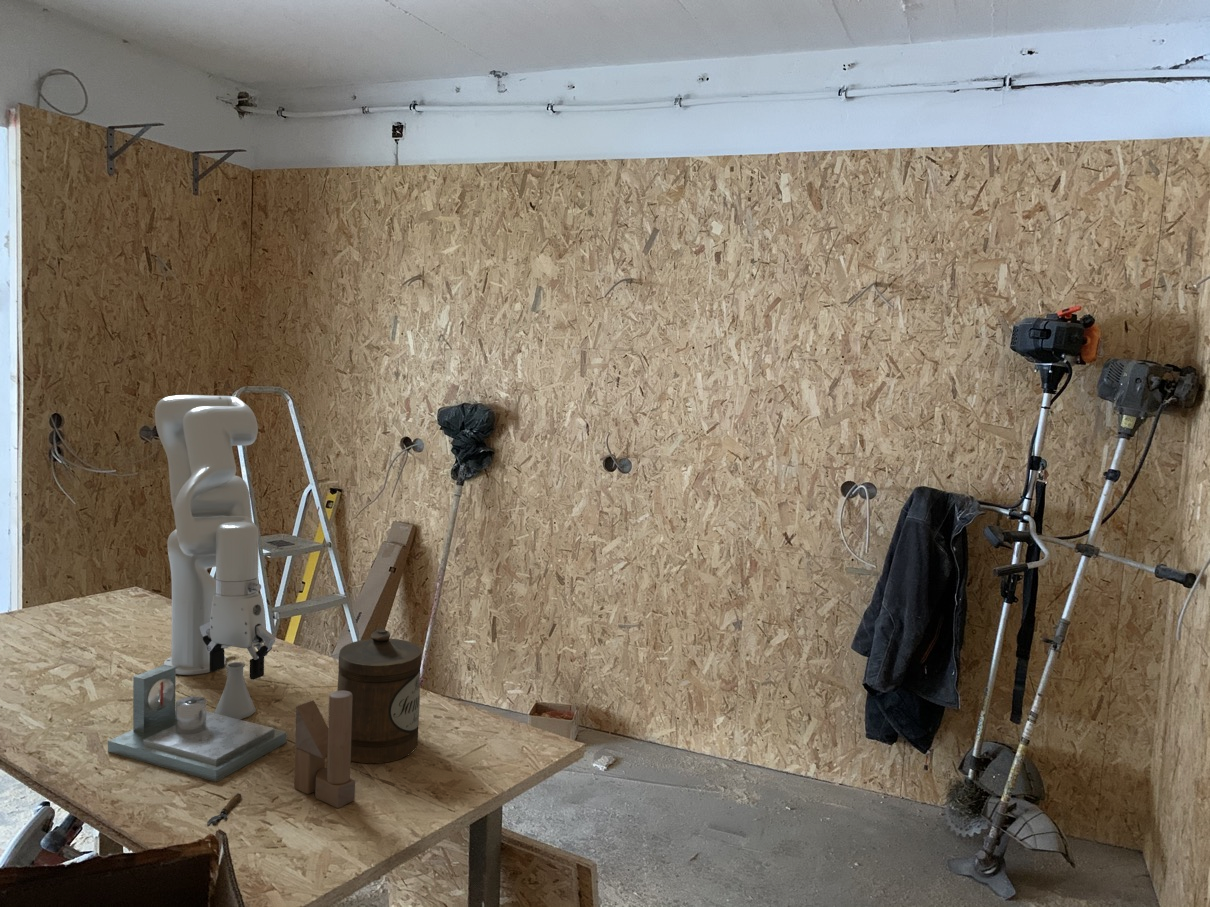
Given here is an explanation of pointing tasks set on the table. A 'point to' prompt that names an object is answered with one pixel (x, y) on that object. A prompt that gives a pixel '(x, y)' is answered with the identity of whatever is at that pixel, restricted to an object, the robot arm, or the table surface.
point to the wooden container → (382, 696)
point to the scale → (193, 754)
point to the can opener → (225, 809)
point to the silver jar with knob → (190, 715)
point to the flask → (235, 694)
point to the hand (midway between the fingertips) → (236, 673)
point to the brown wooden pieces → (325, 750)
